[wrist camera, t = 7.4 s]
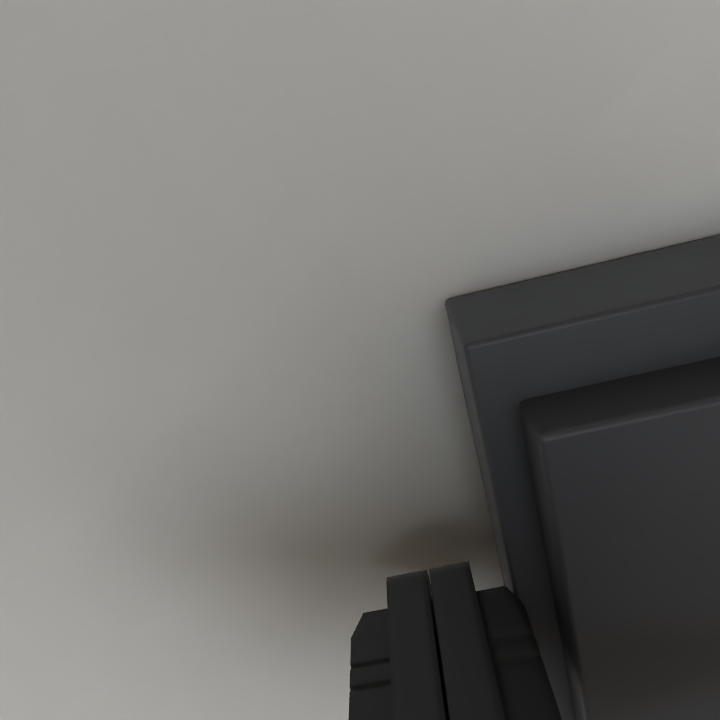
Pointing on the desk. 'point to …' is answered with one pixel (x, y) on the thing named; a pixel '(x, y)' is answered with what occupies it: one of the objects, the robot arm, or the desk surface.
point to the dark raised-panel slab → (606, 473)
